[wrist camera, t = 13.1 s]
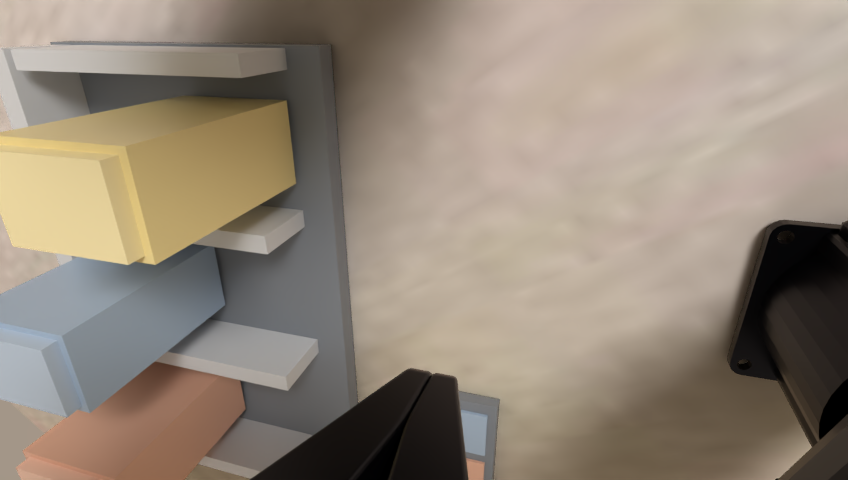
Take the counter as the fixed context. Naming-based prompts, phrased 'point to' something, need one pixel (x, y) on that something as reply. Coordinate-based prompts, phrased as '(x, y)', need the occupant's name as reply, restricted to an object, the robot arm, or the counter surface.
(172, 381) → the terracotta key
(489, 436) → the tile
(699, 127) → the counter surface
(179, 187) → the yellow block
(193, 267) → the pale blue block
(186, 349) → the grey divided tray
